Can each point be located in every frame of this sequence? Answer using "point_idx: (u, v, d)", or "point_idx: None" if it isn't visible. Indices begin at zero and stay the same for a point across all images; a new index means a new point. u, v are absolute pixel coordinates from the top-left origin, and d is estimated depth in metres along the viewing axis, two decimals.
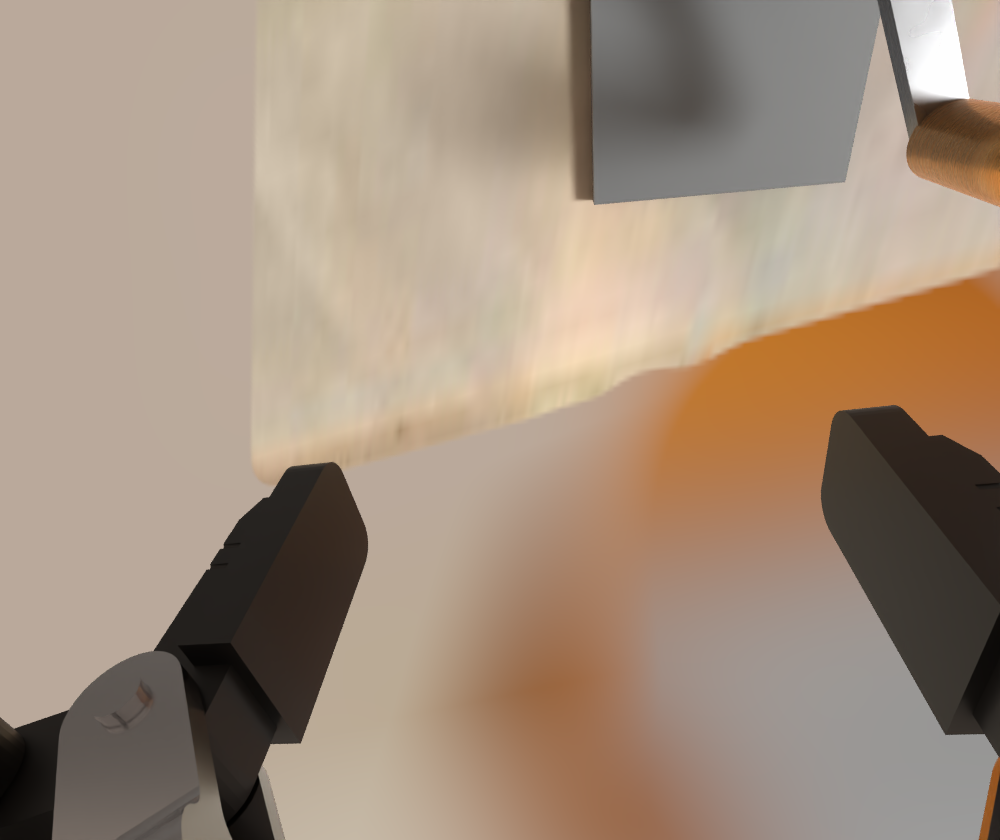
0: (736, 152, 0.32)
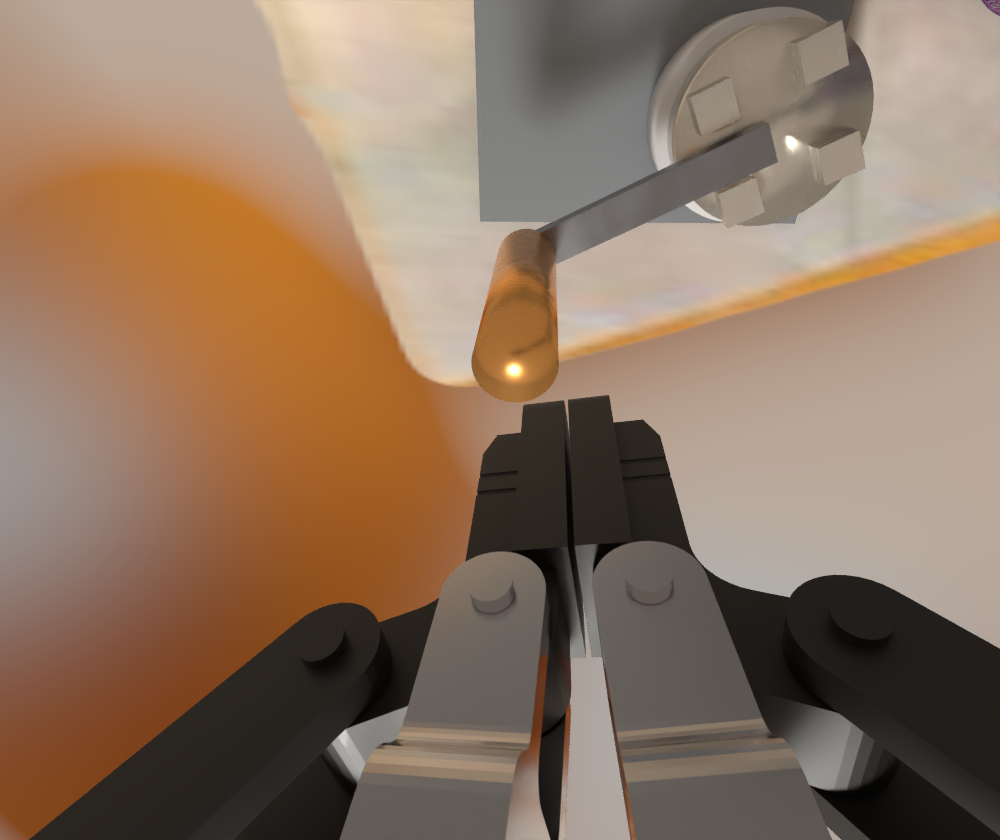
0: (512, 116, 0.34)
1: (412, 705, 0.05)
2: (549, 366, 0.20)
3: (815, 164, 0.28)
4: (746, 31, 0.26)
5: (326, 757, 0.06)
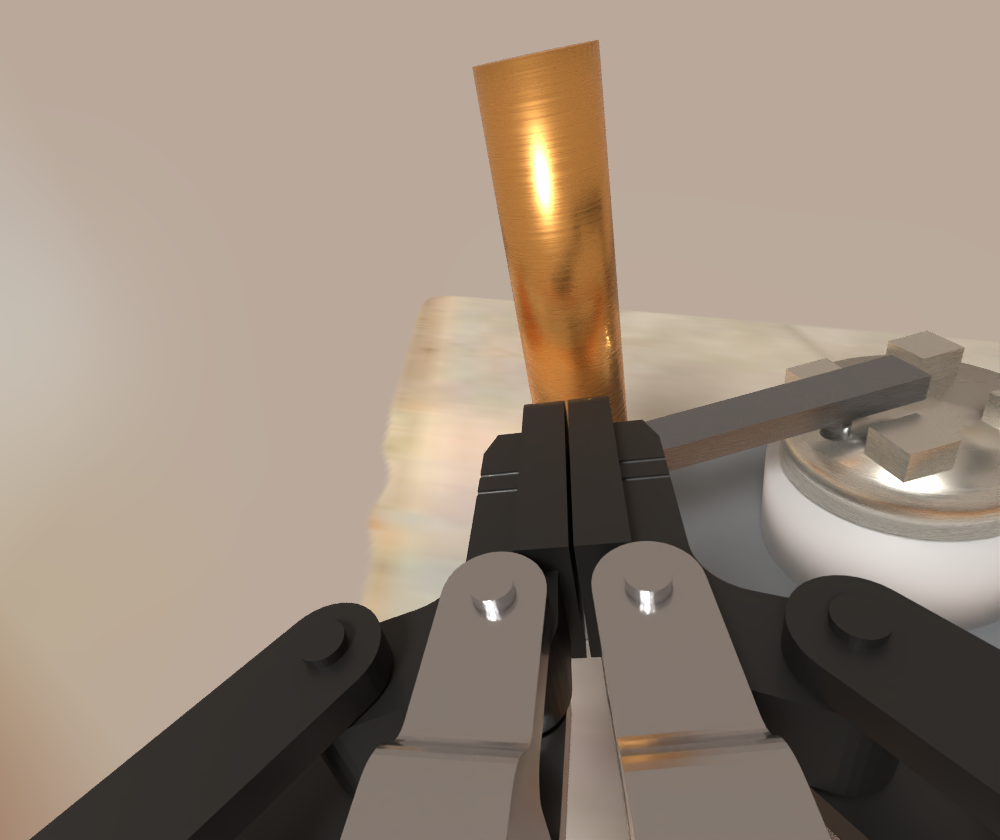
0: None
1: (413, 703, 0.05)
2: None
3: None
4: None
5: (327, 757, 0.06)
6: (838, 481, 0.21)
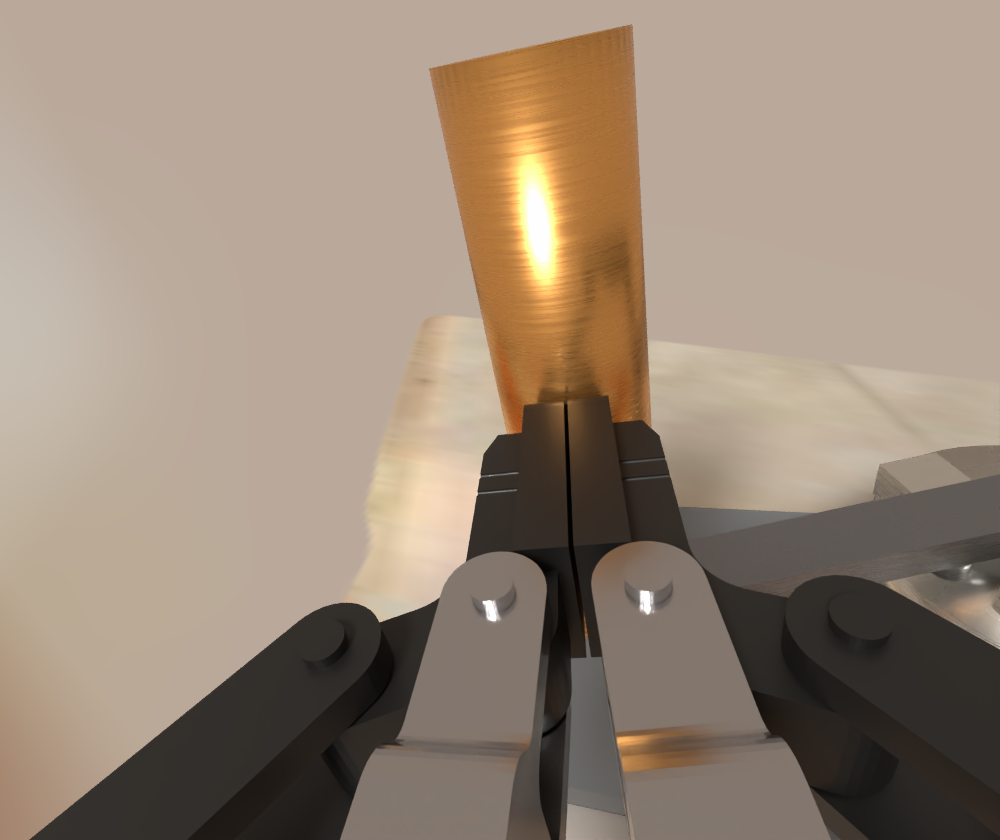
0: None
1: (412, 704, 0.05)
2: (608, 29, 0.08)
3: None
4: (938, 453, 0.20)
5: (326, 758, 0.06)
6: None
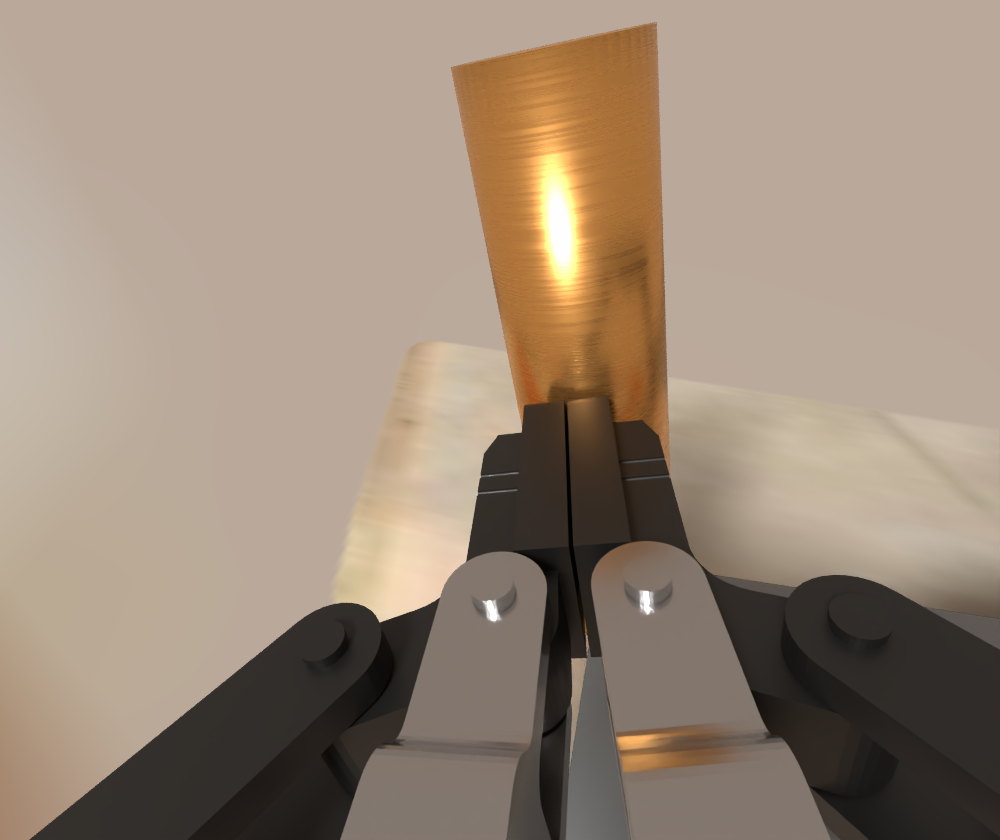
0: None
1: (412, 705, 0.05)
2: (614, 31, 0.08)
3: None
4: None
5: (326, 758, 0.06)
6: None
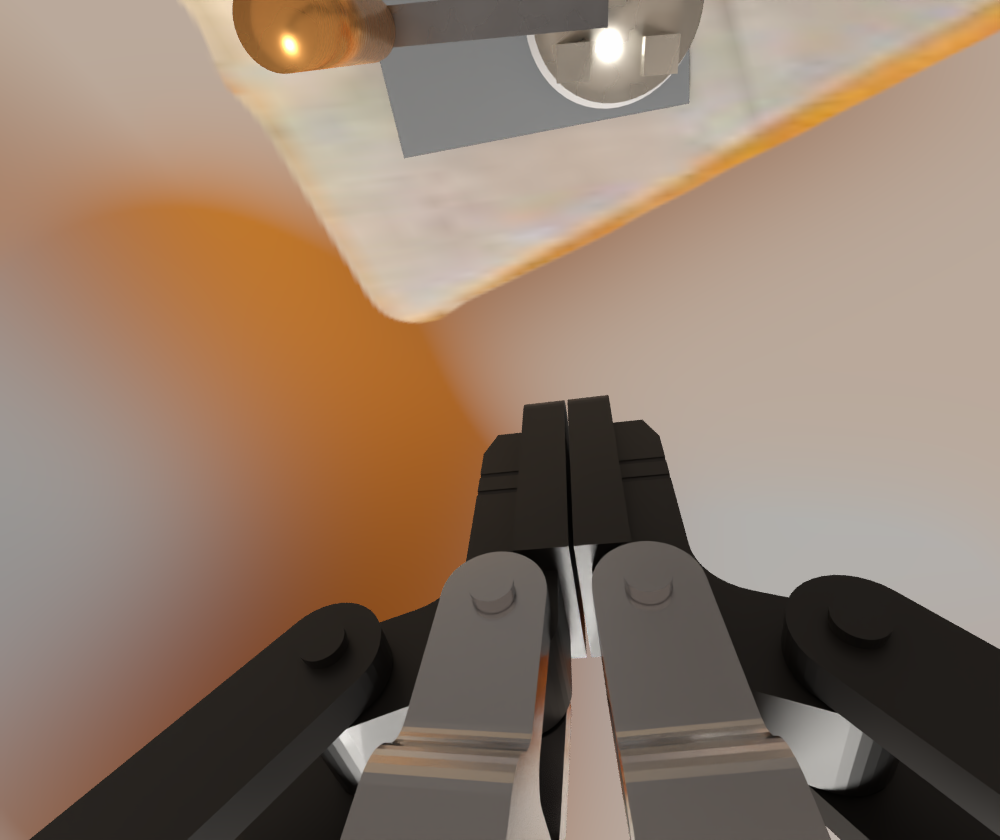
0: (409, 53, 0.38)
1: (413, 704, 0.05)
2: (308, 39, 0.20)
3: (642, 55, 0.31)
4: None
5: (327, 757, 0.06)
6: None
